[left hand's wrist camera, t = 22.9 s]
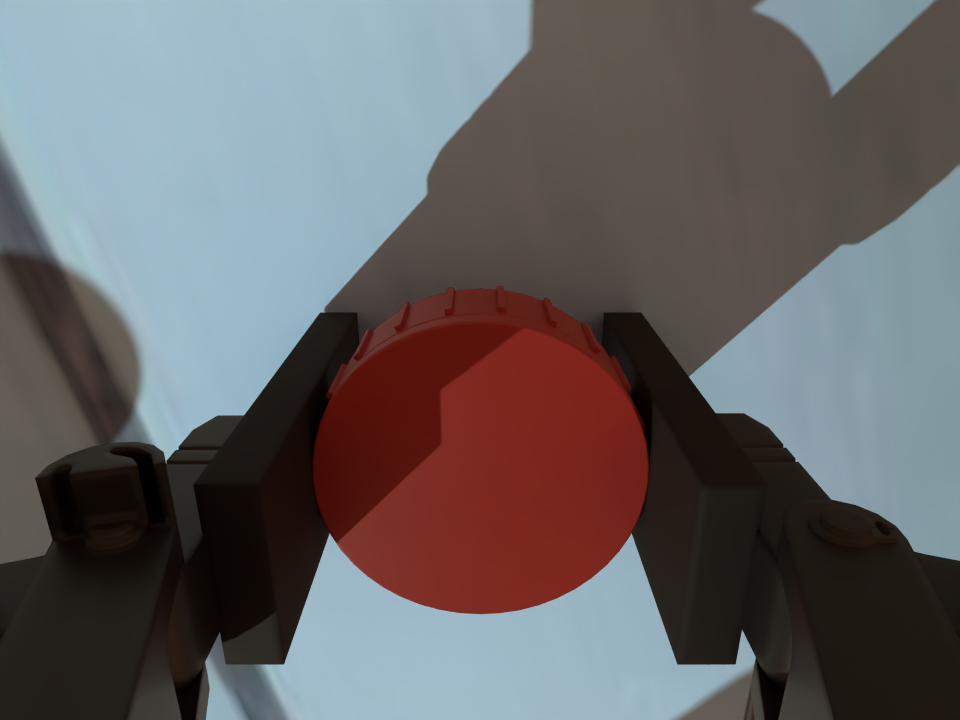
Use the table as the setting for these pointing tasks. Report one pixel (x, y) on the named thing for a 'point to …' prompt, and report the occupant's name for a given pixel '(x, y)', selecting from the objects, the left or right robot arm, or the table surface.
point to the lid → (480, 453)
